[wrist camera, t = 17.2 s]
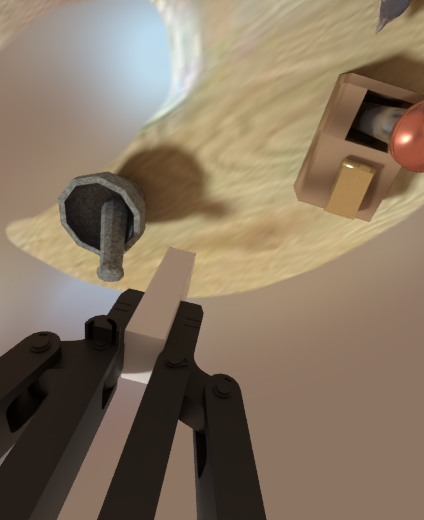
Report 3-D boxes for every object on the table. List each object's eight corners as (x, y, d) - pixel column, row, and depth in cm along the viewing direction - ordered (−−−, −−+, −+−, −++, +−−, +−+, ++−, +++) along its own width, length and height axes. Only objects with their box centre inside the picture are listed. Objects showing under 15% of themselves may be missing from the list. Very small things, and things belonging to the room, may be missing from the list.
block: (339, 74, 31) (352, 73, 27) (414, 97, 31) (440, 99, 27) (293, 186, 37) (298, 200, 33) (356, 205, 37) (369, 221, 33)
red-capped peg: (353, 87, 32) (419, 89, 19) (394, 99, 32) (488, 110, 19) (333, 131, 34) (381, 161, 21) (372, 143, 34) (443, 180, 21)
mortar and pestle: (72, 181, 41) (9, 215, 30) (129, 147, 37) (79, 172, 27) (122, 250, 45) (81, 300, 35) (176, 225, 42) (149, 272, 31)
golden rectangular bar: (342, 157, 30) (346, 158, 29) (373, 167, 30) (377, 167, 29) (322, 209, 32) (324, 210, 31) (351, 218, 32) (354, 220, 31)
